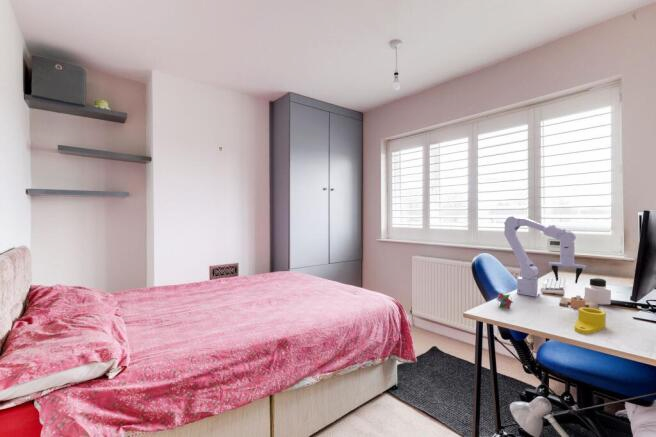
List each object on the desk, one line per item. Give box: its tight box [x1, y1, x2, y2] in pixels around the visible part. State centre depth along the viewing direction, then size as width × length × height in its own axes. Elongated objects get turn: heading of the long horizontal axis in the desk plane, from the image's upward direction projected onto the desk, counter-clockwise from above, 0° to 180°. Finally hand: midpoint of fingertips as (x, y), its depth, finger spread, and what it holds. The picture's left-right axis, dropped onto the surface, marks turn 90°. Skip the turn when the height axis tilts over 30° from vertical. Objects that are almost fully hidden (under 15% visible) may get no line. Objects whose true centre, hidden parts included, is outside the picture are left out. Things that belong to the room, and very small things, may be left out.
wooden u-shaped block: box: [559, 296, 599, 310], centre depth 148 cm, size 14×12×1 cm
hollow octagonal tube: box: [570, 296, 586, 310], centre depth 144 cm, size 5×5×4 cm
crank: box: [574, 307, 607, 335], centre depth 121 cm, size 18×8×6 cm, turn 125°
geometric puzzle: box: [496, 292, 514, 309], centre depth 146 cm, size 7×7×8 cm
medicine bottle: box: [584, 277, 612, 305], centre depth 152 cm, size 7×7×12 cm
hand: (566, 281), depth 154 cm, fingers open, 7 cm apart
